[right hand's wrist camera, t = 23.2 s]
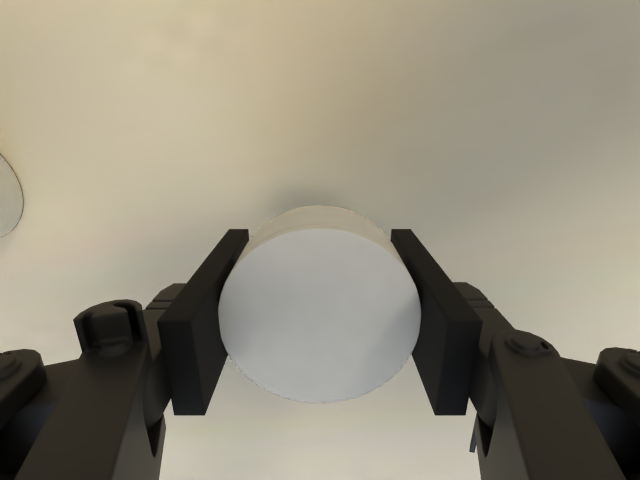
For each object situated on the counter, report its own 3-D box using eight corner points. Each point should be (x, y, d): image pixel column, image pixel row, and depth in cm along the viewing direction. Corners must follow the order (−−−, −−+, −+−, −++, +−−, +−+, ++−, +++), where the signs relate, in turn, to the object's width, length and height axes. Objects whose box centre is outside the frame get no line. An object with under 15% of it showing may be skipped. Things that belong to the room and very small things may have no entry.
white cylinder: (324, 379, 13) (325, 432, 11) (203, 290, 12) (176, 331, 10) (436, 279, 12) (464, 318, 10) (313, 167, 11) (311, 181, 8)
